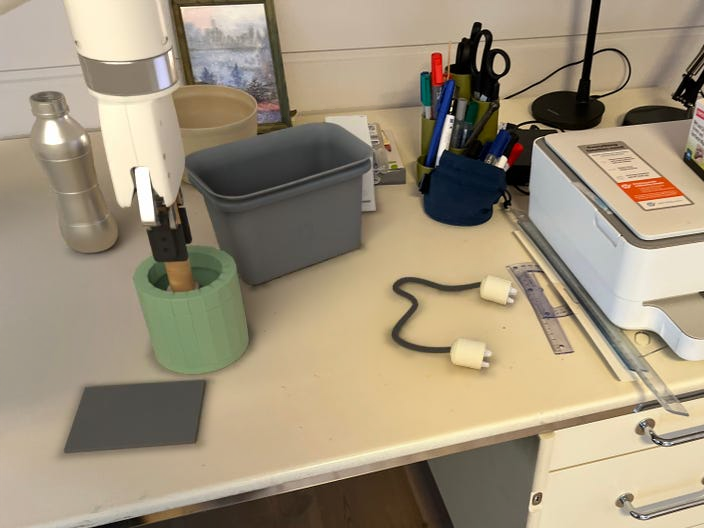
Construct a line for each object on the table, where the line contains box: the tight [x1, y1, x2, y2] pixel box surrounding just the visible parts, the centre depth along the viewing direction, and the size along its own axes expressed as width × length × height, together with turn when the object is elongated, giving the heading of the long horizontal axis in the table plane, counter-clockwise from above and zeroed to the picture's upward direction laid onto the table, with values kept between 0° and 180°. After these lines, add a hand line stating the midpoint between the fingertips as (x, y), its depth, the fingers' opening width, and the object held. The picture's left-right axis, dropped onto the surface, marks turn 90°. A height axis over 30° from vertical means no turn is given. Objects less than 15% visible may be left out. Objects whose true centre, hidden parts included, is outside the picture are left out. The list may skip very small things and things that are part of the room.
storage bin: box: [184, 121, 375, 286], centre depth 96 cm, size 21×16×14 cm
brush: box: [157, 200, 204, 292], centre depth 78 cm, size 5×5×16 cm
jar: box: [132, 244, 250, 375], centre depth 82 cm, size 10×10×10 cm
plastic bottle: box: [28, 90, 119, 254], centre depth 93 cm, size 6×7×20 cm
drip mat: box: [63, 379, 206, 454], centre depth 76 cm, size 12×9×1 cm
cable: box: [391, 274, 518, 370], centre depth 90 cm, size 16×16×4 cm
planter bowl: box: [172, 84, 259, 185], centre depth 113 cm, size 16×16×11 cm
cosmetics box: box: [324, 114, 377, 212], centre depth 110 cm, size 10×6×10 cm, turn 11°
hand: (173, 250), depth 76 cm, fingers closed on brush, 2 cm apart
